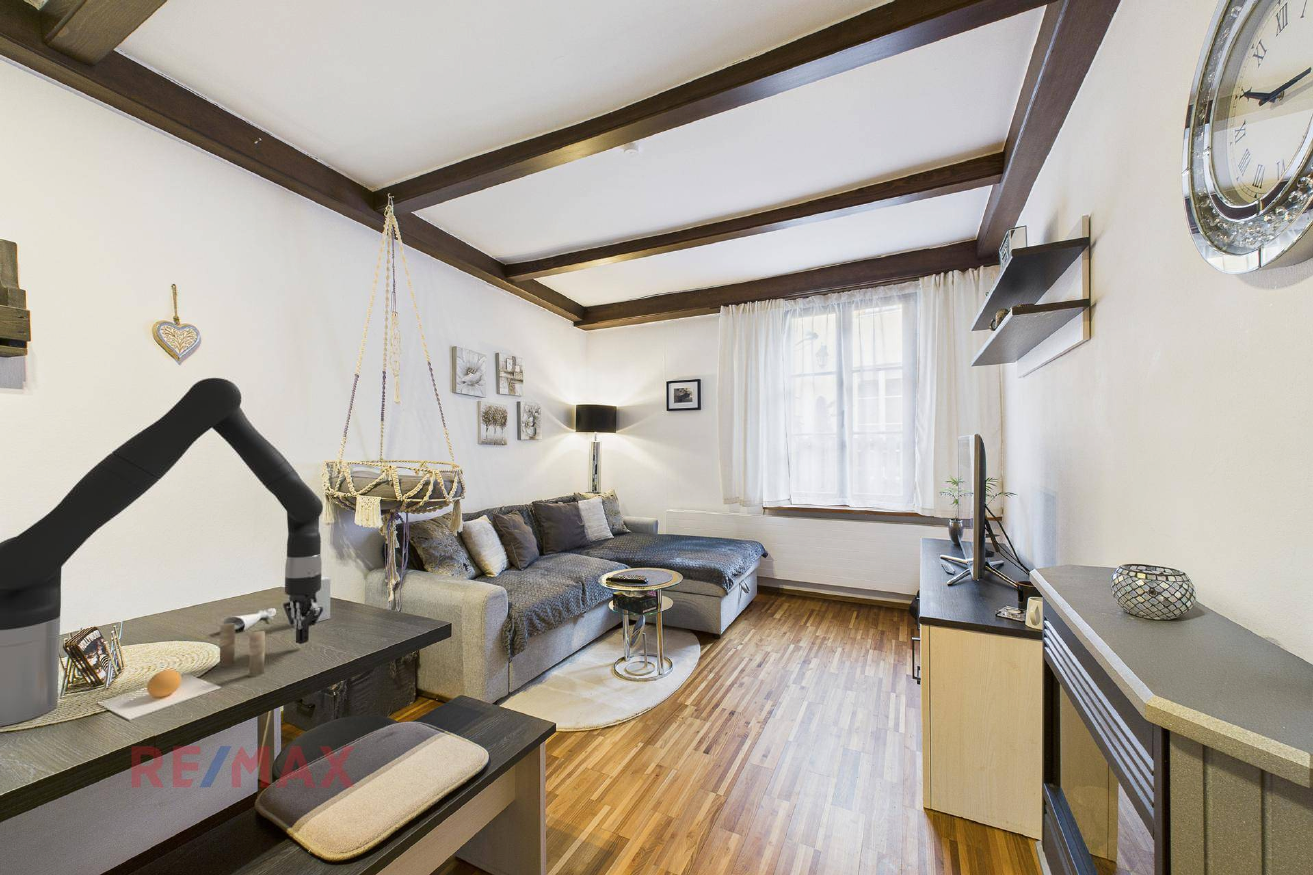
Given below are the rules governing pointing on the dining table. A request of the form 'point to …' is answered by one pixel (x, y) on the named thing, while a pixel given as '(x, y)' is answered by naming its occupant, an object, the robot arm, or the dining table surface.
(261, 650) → the right post
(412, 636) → the dining table surface
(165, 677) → the brown egg
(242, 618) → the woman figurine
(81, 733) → the dining table surface
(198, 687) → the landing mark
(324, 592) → the skincare box
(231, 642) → the left post
